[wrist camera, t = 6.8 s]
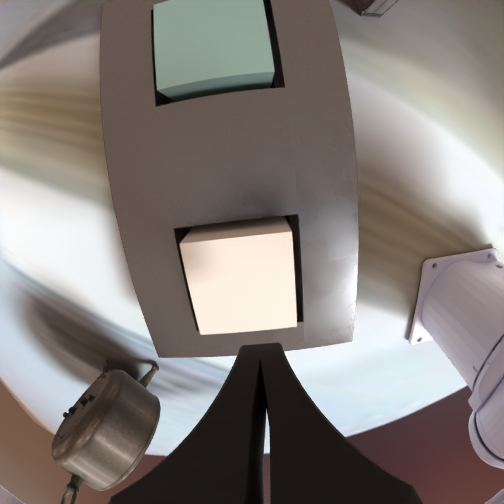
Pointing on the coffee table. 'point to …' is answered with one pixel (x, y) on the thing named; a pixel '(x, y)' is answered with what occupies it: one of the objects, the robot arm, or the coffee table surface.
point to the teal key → (211, 47)
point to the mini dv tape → (374, 7)
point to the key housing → (234, 173)
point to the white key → (241, 275)
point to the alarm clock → (106, 431)
